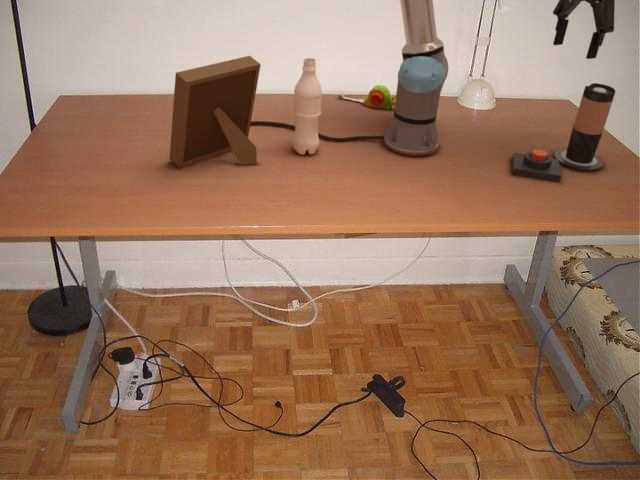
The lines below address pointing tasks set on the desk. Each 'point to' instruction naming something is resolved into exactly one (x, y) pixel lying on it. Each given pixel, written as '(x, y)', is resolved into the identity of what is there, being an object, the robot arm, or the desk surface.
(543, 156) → the button
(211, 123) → the photo frame
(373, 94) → the toy measuring tape
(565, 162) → the plate
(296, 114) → the water bottle
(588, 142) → the travel mug
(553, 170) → the switch
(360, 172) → the desk surface
